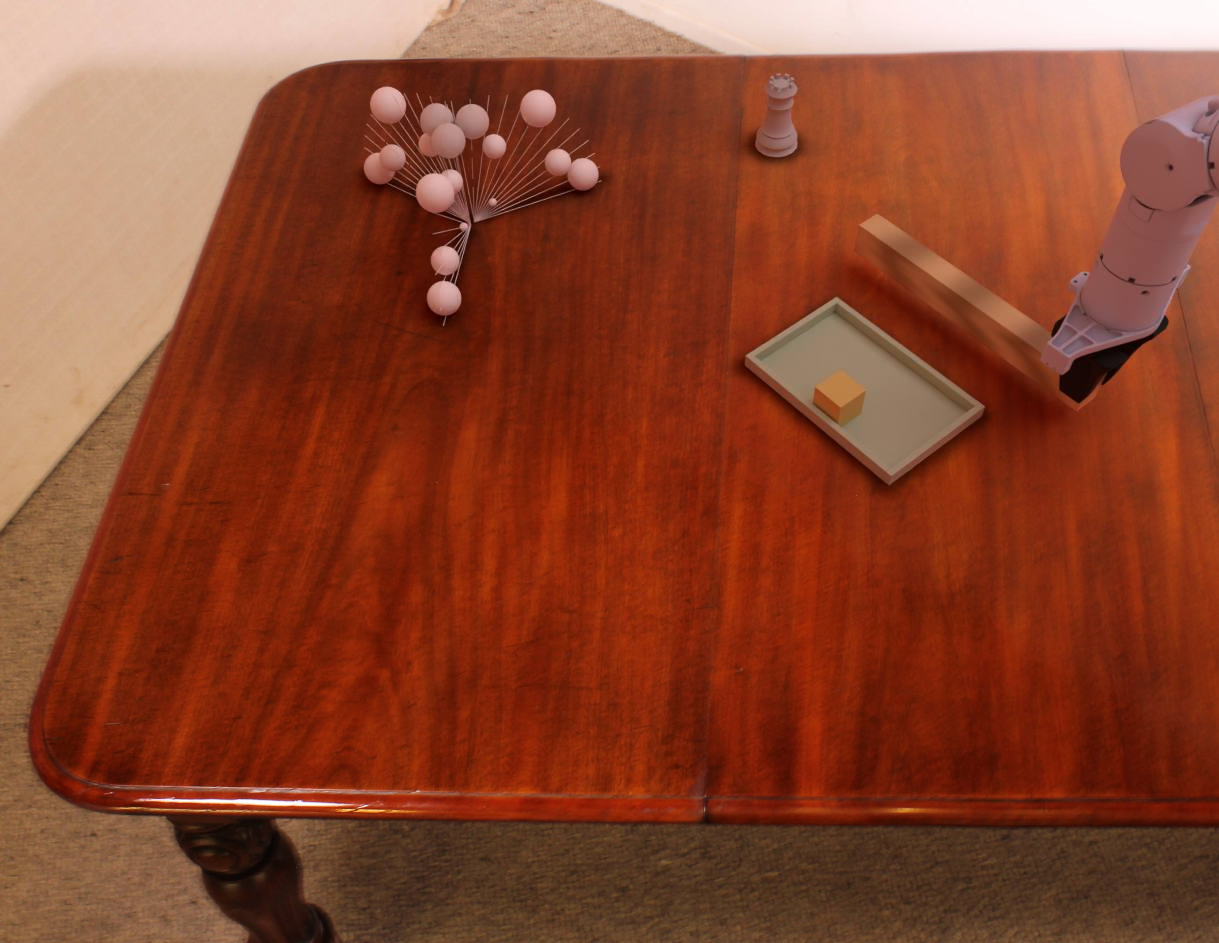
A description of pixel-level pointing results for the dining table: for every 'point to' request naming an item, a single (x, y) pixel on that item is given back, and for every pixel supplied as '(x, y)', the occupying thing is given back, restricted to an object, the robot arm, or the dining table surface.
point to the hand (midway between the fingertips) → (1083, 385)
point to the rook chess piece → (778, 119)
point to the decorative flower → (450, 143)
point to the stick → (961, 301)
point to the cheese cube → (839, 398)
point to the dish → (891, 374)
